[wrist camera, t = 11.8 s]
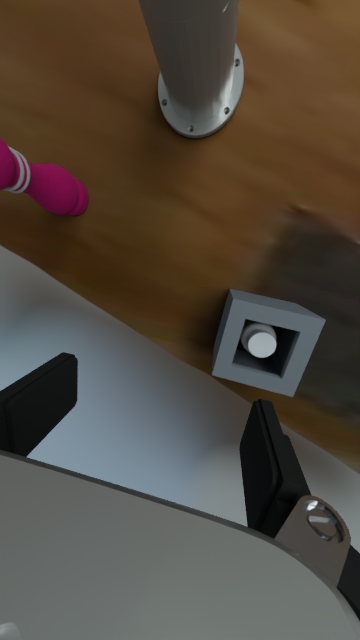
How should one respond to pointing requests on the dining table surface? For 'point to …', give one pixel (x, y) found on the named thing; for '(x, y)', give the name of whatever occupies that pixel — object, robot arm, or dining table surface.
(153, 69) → the dining table surface
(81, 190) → the pink bowling pin
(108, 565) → the robot arm
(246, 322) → the supplement bottle
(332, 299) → the dining table surface
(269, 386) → the box
